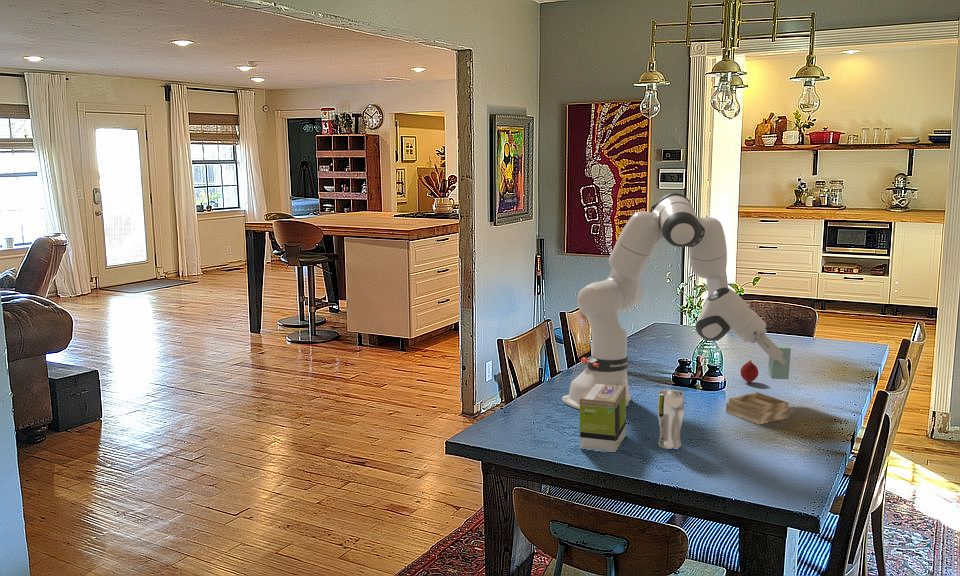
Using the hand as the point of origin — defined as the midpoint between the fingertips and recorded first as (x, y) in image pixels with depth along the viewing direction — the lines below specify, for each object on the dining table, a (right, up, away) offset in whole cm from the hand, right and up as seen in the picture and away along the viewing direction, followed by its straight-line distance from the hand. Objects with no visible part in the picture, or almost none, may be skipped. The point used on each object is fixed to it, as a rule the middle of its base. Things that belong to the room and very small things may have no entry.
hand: (781, 360), depth 247 cm
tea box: (-61, -20, -30) cm, 71 cm away
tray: (-11, -16, -10) cm, 21 cm away
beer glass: (-43, -20, -34) cm, 59 cm away
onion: (-2, -10, +23) cm, 25 cm away
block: (-1, -5, +1) cm, 5 cm away
